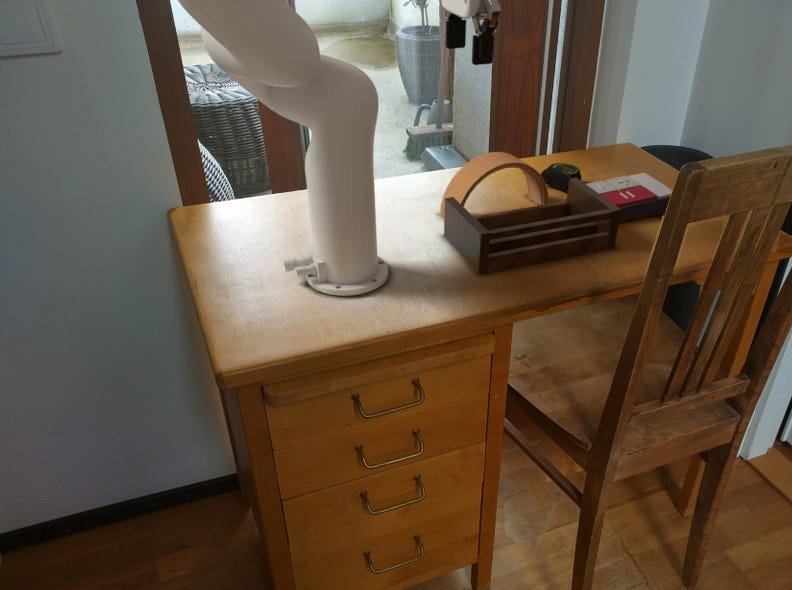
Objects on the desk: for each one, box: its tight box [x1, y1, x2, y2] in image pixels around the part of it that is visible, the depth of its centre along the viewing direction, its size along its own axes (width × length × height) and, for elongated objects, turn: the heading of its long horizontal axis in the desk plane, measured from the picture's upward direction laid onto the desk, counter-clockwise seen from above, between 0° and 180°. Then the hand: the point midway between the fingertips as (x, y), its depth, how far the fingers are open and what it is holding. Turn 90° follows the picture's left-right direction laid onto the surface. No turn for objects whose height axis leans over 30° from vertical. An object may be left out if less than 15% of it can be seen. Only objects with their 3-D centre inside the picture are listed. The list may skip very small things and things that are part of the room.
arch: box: [439, 151, 550, 219], centre depth 128 cm, size 6×20×10 cm, turn 119°
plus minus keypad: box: [585, 172, 673, 224], centre depth 133 cm, size 11×4×15 cm
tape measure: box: [540, 162, 582, 192], centre depth 140 cm, size 7×7×4 cm
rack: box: [443, 178, 621, 275], centre depth 120 cm, size 26×14×7 cm, turn 114°
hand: (468, 55), depth 109 cm, fingers open, 9 cm apart
